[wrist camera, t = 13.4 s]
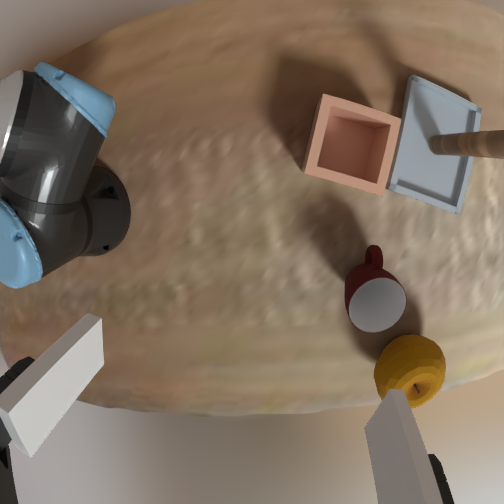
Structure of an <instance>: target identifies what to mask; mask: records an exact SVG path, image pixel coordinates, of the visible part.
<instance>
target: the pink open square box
mask: <svg viewBox="0 0 504 504" xmlns="http://www.w3.org/2000/svg"><path fill="white" fill-rule="evenodd" d="M400 124H401V119H400V118H397V117H395V116H392V115H389V114H387V113H384V112H381V111H378V110H375V109H372V108H369V107H366V106H363V105H360V104H357V103H354V102H351V101H348V100H344V99H341V98H337V97H334V96H330V95H327V94H323V95H322V97H321V98H320V100H319V102H318V104H317V106H316V111H315V115H314V119H313V124H312V128H311V132H310V136H309V141H308V145H307V149H306V153H305V157H304V161H303V166H302V170H301V171H302V172H303V173H305V174H308V175H312V176H316V177H320V178H323V179H327V180H330V181H334V182H338V183H341V184H344V185H348V186H351V187H355V188H358V189H361V190H365V191H368V192H371V193H374V194H377V195H380V196H383V195H384V191H385V187H386V184H387V180H388V176H389V172H390V168H391V164H392V160H393V156H394V152H395V147H396V143H397V138H398V134H399V129H400Z"/></svg>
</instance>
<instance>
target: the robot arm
mask: <svg viewBox="0 0 504 504" xmlns="http://www.w3.org/2000/svg"><path fill="white" fill-rule="evenodd" d="M33 71H34V72H28V71H24V70H17V71H15V72H14V73H12V74H11V75H9V76H7V77H6V78H5V79H3V80H0V281H1V282H2V283H3V284H5V285H7V286H9V287H12V288H22V287H25V286H27V285H29V284H31V283H33V282H38V281H39V280H40V279H41V278H42V277H44V276H46V275H47V274H49V273H51V272H52V271H54V270H56V269H57V268H59V267H61V266H62V265H64V264H66V263H67V262H69V261H71V260H73V259H74V258H76V257H78V256H99V255H103V254H105V253H107V252H109V251H111V250H112V249H114V248H115V247H117V246H118V245H119V244H120V243H121V242H122V240H123V239H124V237H125V235H126V233H127V231H128V228H129V224H130V216H131V210H130V202H129V198H128V195H127V192H126V190H125V188H124V186H123V184H122V183H121V181H120V180H119V179H118V178H117V177H116V176H115V175H114V174H113V173H112V172H110V171H109V170H107V169H105V168H102V167H97V166H94V163H95V161H96V158H97V156H98V153H99V151H100V148H101V146H102V143H103V141H104V139H105V138H107V135H108V133H107V131H108V128H109V126H110V123H111V121H112V118H113V116H114V114H115V110H116V103H115V100H114V99H113V97H112V96H111V95H109V94H107V93H105V92H104V91H102V90H100V89H98V88H96V87H94V86H92V85H90V84H88V83H86V82H84V81H82V80H80V79H78V78H76V77H74V76H72V75H70V74H68V73H66V72H64V71H62V70H60V69H58V68H56V67H54V66H52V65H50V64H47V63H45V62H39V63H38V64H37V66H35V67H34V69H33ZM103 365H104V358H103V341H102V318H100V317H97V316H95V315H92V314H90V313H87V314H86V315H85V316H84V317H83V318H81V319H80V320H79V321H78V322H77V323H76V324H75V325H74V326H72V327H71V328H70V329H69V330H68V331H67V332H66V333H65V334H63V335H62V336H61V337H60V338H59V339H58V340H57V341H56V342H55V343H54V344H52V345H51V346H50V347H49V348H48V349H47V350H46V351H45V352H44V353H43V354H42V355H41V356H39V357H38V358H37V359H36V360H34V359H33V358H31V357H26V358H24V359H22V360H19V361H18V362H17V363H16V364H14V365H13V366H12V367H11V369H10V370H8V371H7V372H6V373H5V375H3V376H1V377H0V504H18V500H17V495H16V490H15V484H14V478H13V472H12V466H11V457H10V449H9V446H8V444H9V443H10V441H11V440H12V441H13V443H14V445H15V447H16V448H17V449H18V450H20V451H21V452H23V453H24V454H26V455H27V456H28V457H30V458H32V456H33V455H34V453H35V452H36V451H37V449H38V448H39V447H40V445H41V444H42V443H43V441H44V440H45V439H46V437H47V436H48V435H49V433H50V432H51V431H52V429H53V428H54V427H55V425H56V424H57V423H58V422H59V420H60V419H61V418H62V416H63V415H64V414H65V412H66V411H67V410H68V409H69V407H70V406H71V405H72V403H73V402H74V401H75V400H76V398H77V397H78V396H79V395H80V393H81V392H82V391H83V390H84V388H85V387H86V386H87V385H88V383H89V382H90V381H91V380H92V378H93V377H94V376H95V375H96V373H97V372H98V371H99V370H100V368H101V367H102V366H103ZM365 433H366V437H367V443H368V447H369V453H370V458H371V463H372V469H373V474H374V480H375V485H376V492H377V498H378V504H454V501H453V498H452V495H451V492H450V488H449V485H448V482H446V480H447V479H446V477H445V474H444V471H443V468H442V465H441V462H440V461H439V460H438V459H437V457H436V456H435V455H434V454H427V451H426V449H425V446H424V443H423V440H422V437H421V435H420V432H419V429H418V426H417V424H416V421H415V418H414V416H413V413H412V410H411V408H410V405H409V403H408V400H407V398H406V395H405V393H404V390H397V389H389V391H388V392H387V394H386V396H385V397H384V399H383V400H382V402H381V404H380V405H379V407H378V408H377V410H376V411H375V413H374V415H373V416H372V418H371V419H370V420H369V422H368V423H367V425H366V426H365Z"/></svg>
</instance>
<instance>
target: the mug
mask: <svg viewBox="0 0 504 504" xmlns="http://www.w3.org/2000/svg"><path fill="white" fill-rule="evenodd" d="M382 267H383V255H382V251H381V249H380V247H379V246H377V245H371V246H369V247H368V248H367V251H366V256H365V263H364V264H361V265H359V266H357V267H355V268H354V269H353V270H351V272H350V273H349V274H348V276H347V278H346V282H345V306H346V310H347V313H348V315H349V318H350V320H351V322H352V323H353V325H354V326H355V327H357V328H358V329H359V330H361V331H364V332H368V333H377V332H382V331H385V330H387V329H389V328H390V327H392V326H393V325H394V324H396V323H397V322H398V321H399V319H400V318H401V317H402V315H403V313H404V311H405V307H406V294H405V291H404V289H403V287H402V286H401V284H400V283H399V281H398V280H397V279H396V278H395V277H394V276H393V275H392V274H390V273H389V272H387V271H386V270H384V269H382Z"/></svg>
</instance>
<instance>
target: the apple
mask: <svg viewBox="0 0 504 504" xmlns="http://www.w3.org/2000/svg"><path fill="white" fill-rule="evenodd" d="M445 370H446V363H445V357H444V355H443V352H442V350H441V349H440V347H439V346H438V345H437V344H436V343H435V342H434V341H432V340H430V339H428V338H426V337H423V336H419V335H402V336H400V337H397V338H395V339H393V340H392V341H391V342H390V343H389V344H388V345H387V346H386V347H385V349H384V350H383V352H382V354H381V355H380V357H379V359H378V361H377V363H376V365H375V369H374V379H375V383H376V387H377V391H378V394H379V396H380V397H381V399H382V400H383V399H384V397H385V396H386V394H387V392H388V391H389V389H397V390H404V393H405V395H406V398H407V400H408V403H409V405H410V408H416V407H418V406H421V405H423V404H424V403H426V402H427V401H428V400H430V399H431V398H432V397H433V396H434V395H435V394H436V393H437V392H438V391H439V390H440V388H441V386H442V384H443V382H444V378H445Z"/></svg>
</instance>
